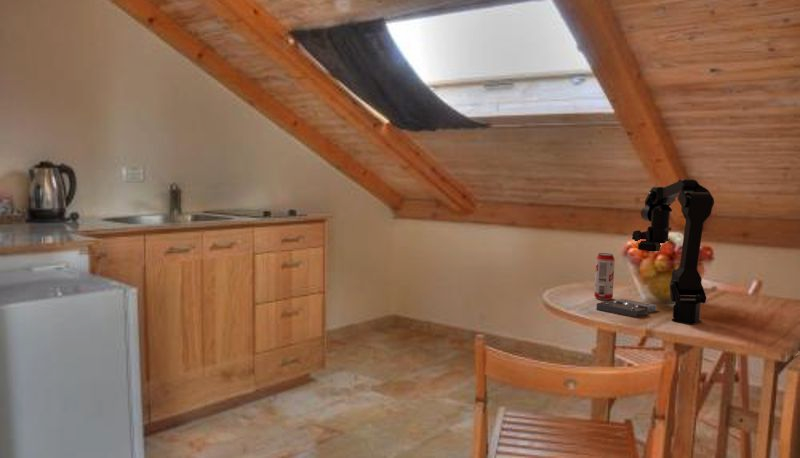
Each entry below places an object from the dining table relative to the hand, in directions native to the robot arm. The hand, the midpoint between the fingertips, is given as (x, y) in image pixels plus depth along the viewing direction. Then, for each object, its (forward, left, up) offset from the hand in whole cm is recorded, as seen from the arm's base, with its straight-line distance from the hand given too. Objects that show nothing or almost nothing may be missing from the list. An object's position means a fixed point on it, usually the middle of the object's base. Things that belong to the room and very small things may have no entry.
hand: (657, 269), depth 216 cm
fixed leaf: (+1, +19, -12) cm, 23 cm away
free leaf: (+2, +13, -12) cm, 18 cm away
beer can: (+16, +6, -12) cm, 21 cm away
